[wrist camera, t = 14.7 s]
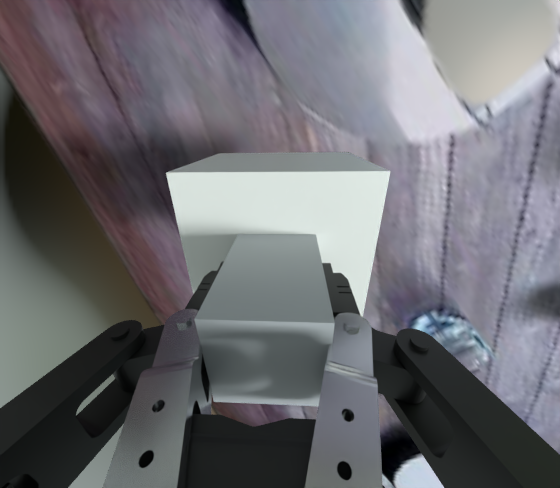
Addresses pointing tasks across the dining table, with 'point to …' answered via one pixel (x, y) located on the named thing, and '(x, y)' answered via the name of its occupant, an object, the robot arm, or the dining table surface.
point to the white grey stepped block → (275, 262)
